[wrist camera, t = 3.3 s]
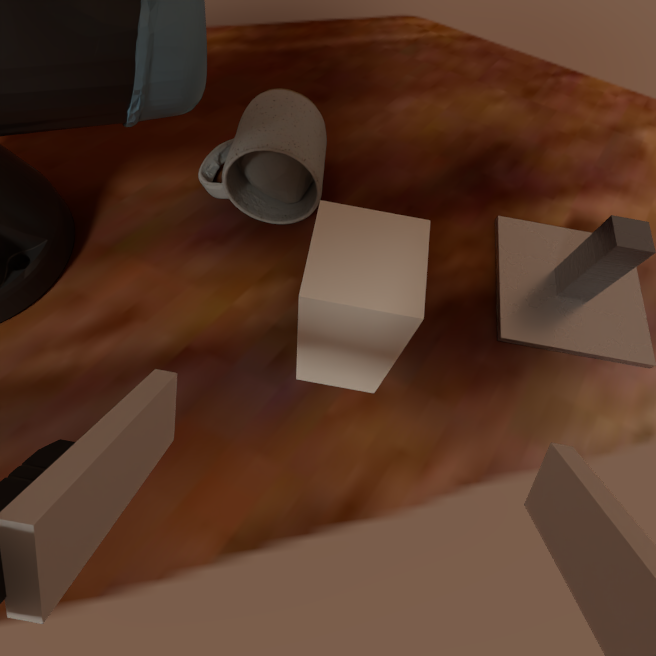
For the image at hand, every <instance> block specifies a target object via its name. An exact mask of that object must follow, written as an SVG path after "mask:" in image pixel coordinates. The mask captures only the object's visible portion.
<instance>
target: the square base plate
mask: <svg viewBox="0 0 656 656" xmlns="http://www.w3.org/2000/svg"><path fill="white" fill-rule="evenodd" d="M495 246H496V296H497V341H503V342H508V343H514V344H519V345H525V346H530V347H536V348H541V349H546V350H552V351H557V352H563V353H568V354H574V355H579V356H585V357H590V358H596V359H601V360H607V361H612V362H618V363H623V364H629V365H634V366H640V367H645V368H652V367H654V366H656V363H655V358H654V353H653V348H652V343H651V338H650V333H649V328H648V323H647V318H646V313H645V308H644V303H643V298H642V293H641V288H640V283H639V278H638V273H637V268H636V267H637V266H638V265H639V264H641V263H642V262H644V261H645V260H646V259H648V258H649V257H650V256H652V255H653V254H655V253H656V252H655V248H654V244H653V239H652V235H651V230H650V226H649V222H645V221H640V220H634V219H629V218H624V217H618V216H613V215H611V216H610V217H609V218H608V219H607V220H606V221H605V222H604V223H603V224H602V225H601V226H600V227H598V228H597V229H596V230H595V231H594V232H593V233H590V232H585V231H579V230H574V229H568V228H563V227H557V226H552V225H547V224H541V223H536V222H530V221H525V220H519V219H514V218H509V217H503V216H497V218H496V219H495Z"/></svg>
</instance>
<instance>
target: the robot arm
mask: <svg viewBox="0 0 656 656" xmlns="http://www.w3.org/2000/svg"><path fill="white" fill-rule="evenodd" d="M206 77H207V39H206V20H205V2H204V0H0V136H6V135H15V134H25V133H34V132H43V131H53V130H62V129H72V128H81V127H90V126H100V125H109V124H118V123H123V126H124V127H132V126H134V125H136V124H137V123H138V121H144V120H151V119H157V118H164V117H170V116H177V115H182V114H185V113H187V112H189V111H191V110H192V109H193V108H194V107H195V106H196V105H197V104H198V102H199V101H200V100H201V98H202V95H203V93H204V90H205V85H206ZM73 243H74V222H73V218H72V215H71V212H70V210H69V208H68V206H67V205H66V203H65V202H64V201H63V199H62V198H61V196H60V195H59V194H58V192H57V191H56V190H55V188H54V187H53V186H52V184H51V183H50V182H49V181H48V180H47V179H46V178H45V177H44V176H43V175H42V174H41V173H40V172H39V171H37V170H36V169H34V168H33V167H32V166H30V165H29V164H27V163H26V162H24V161H23V160H22V159H20V158H19V157H17V156H16V155H15V154H13V153H12V152H10V151H9V150H8V149H6V148H5V147H3V146H2V145H0V322H3V321H5V320H7V319H9V318H10V317H12V316H14V315H16V314H17V313H19V312H21V311H22V310H24V309H25V308H27V307H28V306H29V305H31V304H32V303H33V302H35V301H36V300H37V299H38V298H39V297H40V296H42V295H43V294H44V293H45V292H46V291H47V290H48V289H49V288H50V287H51V285H52V284H53V283H54V282H55V281H56V279H57V278H58V277H59V275H60V274H61V272H62V271H63V269H64V267H65V266H66V264H67V262H68V259H69V257H70V254H71V251H72V248H73ZM176 387H177V373H174V372H168V371H163V370H158V369H155V370H154V371H153V372H152V373H151V374H150V375H148V376H147V377H146V378H145V379H144V380H143V381H142V382H141V383H140V384H139V385H138V386H136V387H135V388H134V389H133V390H132V391H131V392H130V393H129V394H128V395H127V396H126V397H125V398H123V399H122V400H121V401H120V402H119V403H118V404H117V405H116V406H115V407H114V408H113V409H112V410H110V411H109V412H108V413H107V414H106V415H105V416H104V417H103V418H102V419H101V420H100V421H99V422H97V423H96V424H95V425H94V426H93V427H92V428H91V429H90V430H89V431H88V432H87V433H85V434H84V435H83V436H82V437H81V438H80V439H79V440H78V441H77V442H71V441H66V440H58V441H56V442H54V443H52V444H49V445H47V446H45V447H43V448H41V449H39V450H38V451H37V452H35V453H34V454H33V455H32V456H31V457H29V458H28V459H27V460H26V461H25V462H23V463H22V466H19V467H17V468H16V469H15V470H14V471H13V472H11V473H10V474H9V476H8V478H4V479H3V480H2V481H1V482H0V604H1V603H2V601H3V600H4V599H5V603H6V611H7V617H8V618H13V619H19V620H24V621H30V622H35V623H41V624H43V623H44V622H45V620H46V619H47V617H48V616H49V615H50V613H51V612H52V610H53V609H54V608H55V606H56V605H57V603H58V602H59V600H60V599H61V598H62V596H63V595H64V593H65V592H66V591H67V589H68V588H69V586H70V585H71V584H72V582H73V581H74V579H75V578H76V577H77V575H78V574H79V572H80V571H81V569H82V568H83V567H84V565H85V564H86V562H87V561H88V560H89V558H90V557H91V555H92V554H93V553H94V551H95V550H96V548H97V547H98V546H99V544H100V543H101V541H102V540H103V539H104V537H105V536H106V534H107V533H108V531H109V530H110V529H111V527H112V526H113V524H114V523H115V522H116V520H117V519H118V517H119V516H120V515H121V513H122V512H123V510H124V509H125V508H126V506H127V505H128V503H129V502H130V501H131V499H132V498H133V496H134V495H135V493H136V492H137V491H138V489H139V488H140V486H141V485H142V484H143V482H144V481H145V479H146V478H147V477H148V475H149V474H150V472H151V471H152V470H153V468H154V467H155V465H156V464H157V463H158V461H159V460H160V458H161V457H162V455H163V454H164V453H165V451H166V450H167V448H168V447H169V446H170V444H171V443H172V441H173V440H174V424H175V406H176ZM524 505H525V507H526V509H527V511H528V513H529V515H530V516H531V518H532V520H533V522H534V524H535V526H536V528H537V529H538V531H539V533H540V535H541V537H542V539H543V541H544V542H545V544H546V546H547V548H548V550H549V552H550V554H551V555H552V558H553V559H554V561H555V563H556V565H557V567H558V569H559V571H560V572H561V574H562V576H563V578H564V580H565V582H566V583H567V586H568V587H569V589H570V591H571V593H572V595H573V597H574V599H575V600H576V602H577V604H578V606H579V608H580V610H581V611H582V613H583V615H584V617H585V619H586V621H587V623H588V625H589V627H590V628H591V630H592V632H593V634H594V636H595V638H596V639H597V641H598V643H599V645H600V647H601V649H602V651H603V653H604V655H605V656H656V545H655V544H654V542H653V541H652V540H651V539H650V538H649V537H648V535H647V534H646V533H645V532H644V531H643V529H642V528H641V527H640V526H639V525H638V523H637V522H636V521H635V520H634V519H633V517H632V516H631V515H630V514H629V513H628V512H627V510H626V509H625V508H624V507H623V506H622V504H621V503H620V502H619V501H618V500H617V498H616V497H615V496H614V495H613V494H612V493H611V492H610V490H609V489H608V488H607V487H606V485H605V484H604V483H603V482H602V481H601V479H600V478H599V477H598V476H597V475H596V474H595V473H594V471H593V470H592V469H591V468H590V466H589V465H588V464H587V463H586V462H585V460H584V459H583V458H582V457H581V456H580V455H579V453H578V452H577V451H576V450H575V449H574V447H573V446H567V445H562V444H556V443H551V444H550V446H549V448H548V451H547V453H546V455H545V457H544V460H543V462H542V464H541V467H540V469H539V471H538V474H537V476H536V478H535V481H534V483H533V486H532V488H531V490H530V493H529V495H528V497H527V499H526V502H525V504H524Z"/></svg>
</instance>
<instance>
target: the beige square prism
mask: <svg viewBox="0 0 656 656" xmlns="http://www.w3.org/2000/svg"><path fill="white" fill-rule="evenodd" d="M429 234H430V220H426V219H420V218H415V217H409V216H404V215H398V214H393V213H387V212H382V211H377V210H371V209H366V208H360V207H355V206H349V205H344V204H338V203H333V202H328V201H322V200H320V204H319V208H318V212H317V217H316V221H315V226H314V230H313V235H312V239H311V244H310V248H309V253H308V257H307V262H306V266H305V270H304V275H303V279H302V284H301V288H300V293H299V304H298V339H297V374H296V379H298V380H304V381H309V382H315V383H320V384H326V385H331V386H337V387H342V388H348V389H353V390H359V391H364V392H370V393H375V391H376V390H377V388H378V387H379V385H380V384H381V382H382V381H383V379H384V378H385V376H386V375H387V373H388V372H389V370H390V369H391V367H392V366H393V364H394V363H395V361H396V360H397V358H398V357H399V355H400V354H401V352H402V351H403V349H404V348H405V346H406V345H407V343H408V342H409V340H410V339H411V337H412V336H413V334H414V333H415V331H416V330H417V328H418V327H419V325H420V324H421V322H422V321H423V319H424V308H425V293H426V279H427V264H428V249H429Z"/></svg>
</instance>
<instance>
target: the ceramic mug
mask: <svg viewBox="0 0 656 656" xmlns="http://www.w3.org/2000/svg"><path fill="white" fill-rule="evenodd" d="M326 145H327V136H326V129H325V123H324V120H323V118H322V115H321V113H320V112H319V110H318V109H317V107H316V106H315V104H314V103H313V102H312V101H311V100H309V99H308V98H307V97H305V96H304V95H302V94H300V93H297V92H295V91H292V90H289V89H281V88H278V89H270V90H267V91H265V92H263V93H261V94H259V95H258V96H256V97H255V98H254V99H253V100H252V101H251V102H250V103H249V105H248V106H247V108H246V109H245V111H244V113H243V115H242V117H241V119H240V122H239V126H238V129H237V133H236V135H235V138H234V139H231V140H228V141H226V142H224V143H222V144H220V145H219V146H217V147H216V148H215V149H213V150H212V151H211V152H210V153H209V154H208V156H207V157H206V158H205V159H204V161H203V163H202V165H201V167H200V169H199V174H198V177H199V180H200V182H201V184H202V185H203V186H204V187H205V189H206V190H207V192H208V193H209V194H211V195H212V196H213V197H215V198H220V199H230V201H231V202H232V203H233V204H234V205H235V206H236V207H237V208H238V209H239V210H241V211H242V212H243V213H245V214H247V215H248V216H250V217H252V218H254V219H257V220H260V221H263V222H267V223H272V224H291V223H296V222H299V221H301V220H304V219H305V218H307V217H308V216H310V215H311V214H312V213H313V212H314V211H315V209H316V208H317V206H318V204H319V203H320V199H321V195H322V184H323V175H324V163H325V154H326ZM224 162H225V164H224V167H223V172H222V183H212V182H213V179H214V177H215V175H216V173H217V170H218V169H219V167H220V166H221V165H222V164H223V163H224Z"/></svg>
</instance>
